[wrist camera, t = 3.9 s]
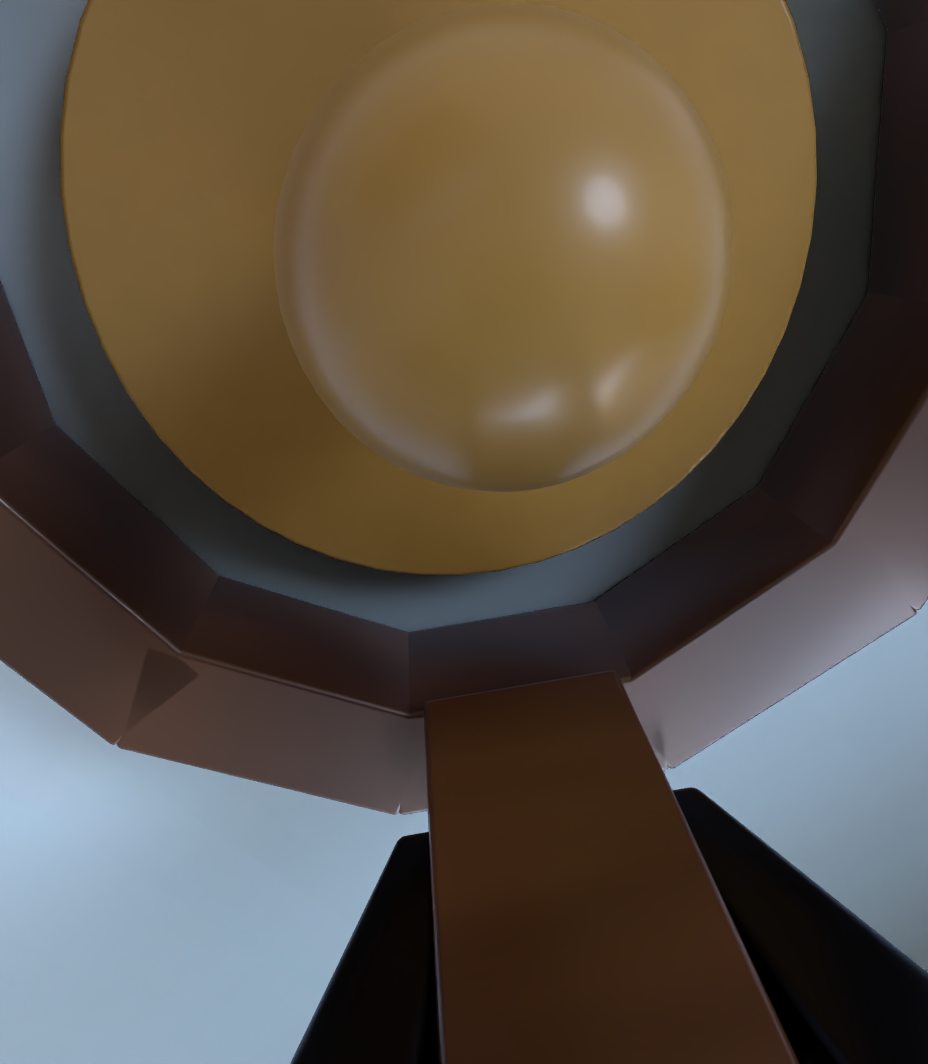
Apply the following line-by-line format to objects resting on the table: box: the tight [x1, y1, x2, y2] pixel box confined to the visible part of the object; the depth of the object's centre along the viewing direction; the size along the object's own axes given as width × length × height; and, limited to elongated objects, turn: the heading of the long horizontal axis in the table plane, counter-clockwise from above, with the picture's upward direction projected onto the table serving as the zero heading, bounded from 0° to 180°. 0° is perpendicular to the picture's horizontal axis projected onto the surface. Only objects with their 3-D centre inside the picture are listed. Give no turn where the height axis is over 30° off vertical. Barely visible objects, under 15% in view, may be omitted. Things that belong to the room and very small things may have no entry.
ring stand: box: [60, 0, 817, 575], centre depth 6 cm, size 8×8×6 cm
